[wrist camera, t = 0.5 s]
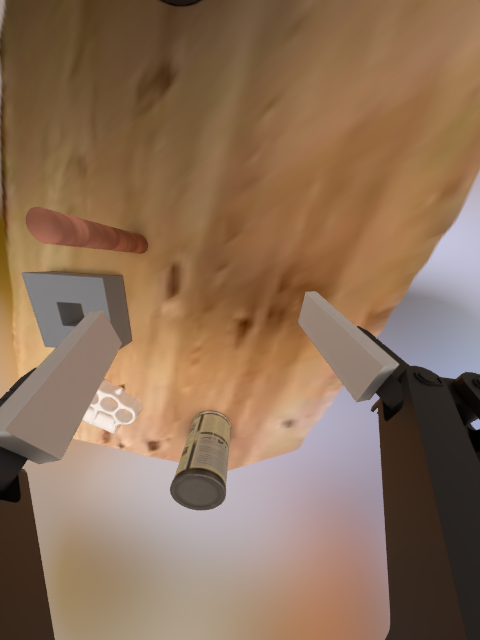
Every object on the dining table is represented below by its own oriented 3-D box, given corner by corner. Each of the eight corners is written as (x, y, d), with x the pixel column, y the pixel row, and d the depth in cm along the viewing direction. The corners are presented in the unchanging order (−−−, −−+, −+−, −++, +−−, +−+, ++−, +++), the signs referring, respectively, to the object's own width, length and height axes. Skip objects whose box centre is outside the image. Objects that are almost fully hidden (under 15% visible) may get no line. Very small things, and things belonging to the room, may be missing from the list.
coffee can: (228, 443, 47) (221, 514, 34) (190, 436, 47) (168, 506, 33) (234, 413, 44) (229, 480, 30) (194, 407, 44) (171, 470, 30)
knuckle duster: (66, 403, 45) (78, 360, 41) (131, 430, 47) (150, 393, 43) (52, 414, 42) (64, 369, 38) (123, 443, 44) (142, 403, 40)
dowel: (129, 234, 32) (21, 206, 16) (146, 235, 32) (54, 207, 16) (131, 252, 33) (31, 242, 17) (148, 253, 33) (63, 244, 17)
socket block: (52, 271, 34) (21, 272, 29) (122, 275, 34) (102, 277, 29) (69, 336, 38) (45, 346, 34) (132, 340, 38) (116, 351, 34)
